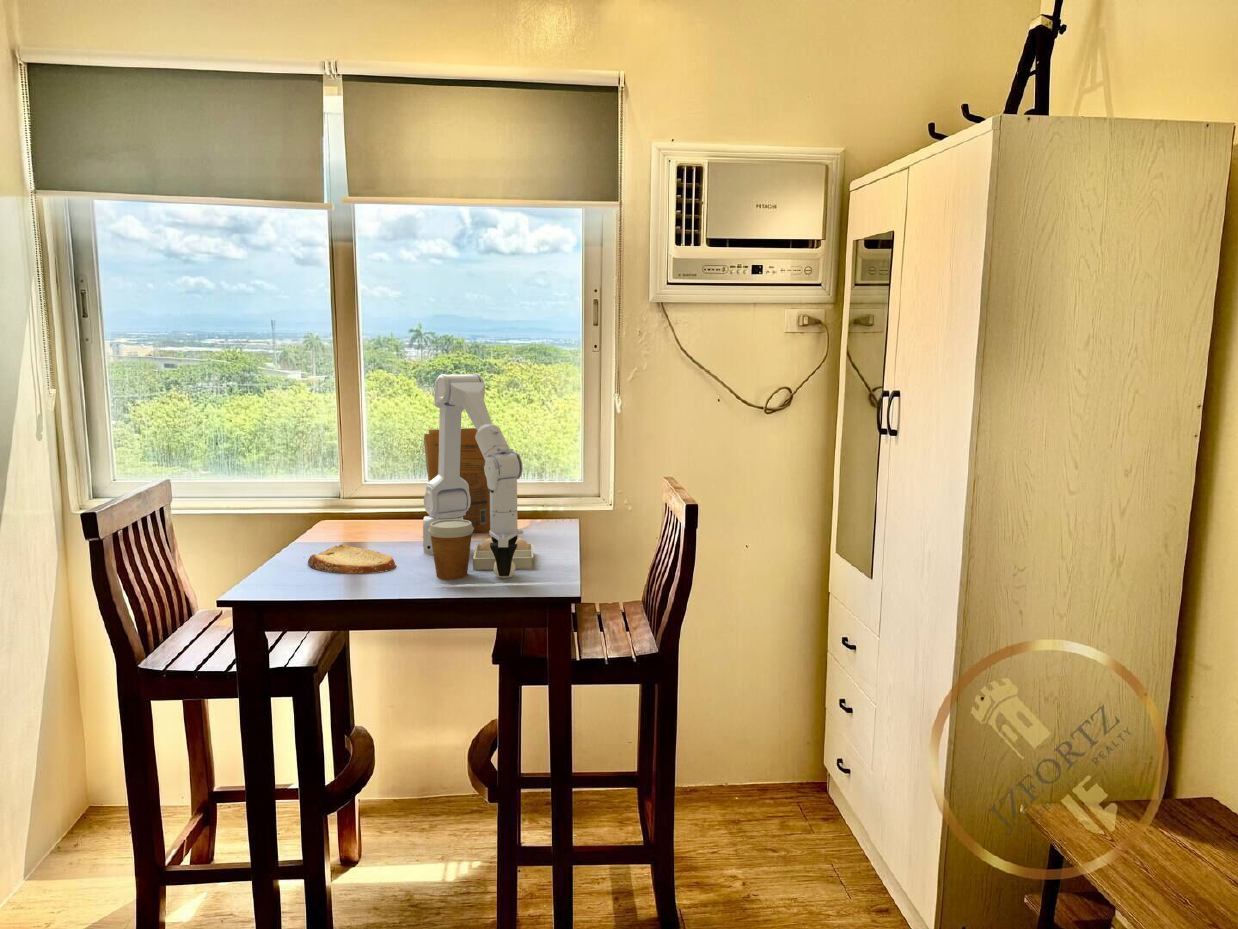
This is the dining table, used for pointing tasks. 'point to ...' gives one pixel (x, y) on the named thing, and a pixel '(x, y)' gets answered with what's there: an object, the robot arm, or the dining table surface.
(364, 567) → the slice of bread
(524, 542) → the brown egg right
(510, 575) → the white egg
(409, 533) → the dining table surface
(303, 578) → the dining table surface
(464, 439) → the pancake mix bag
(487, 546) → the brown egg left
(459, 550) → the disposable coffee cup
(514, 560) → the egg carton
